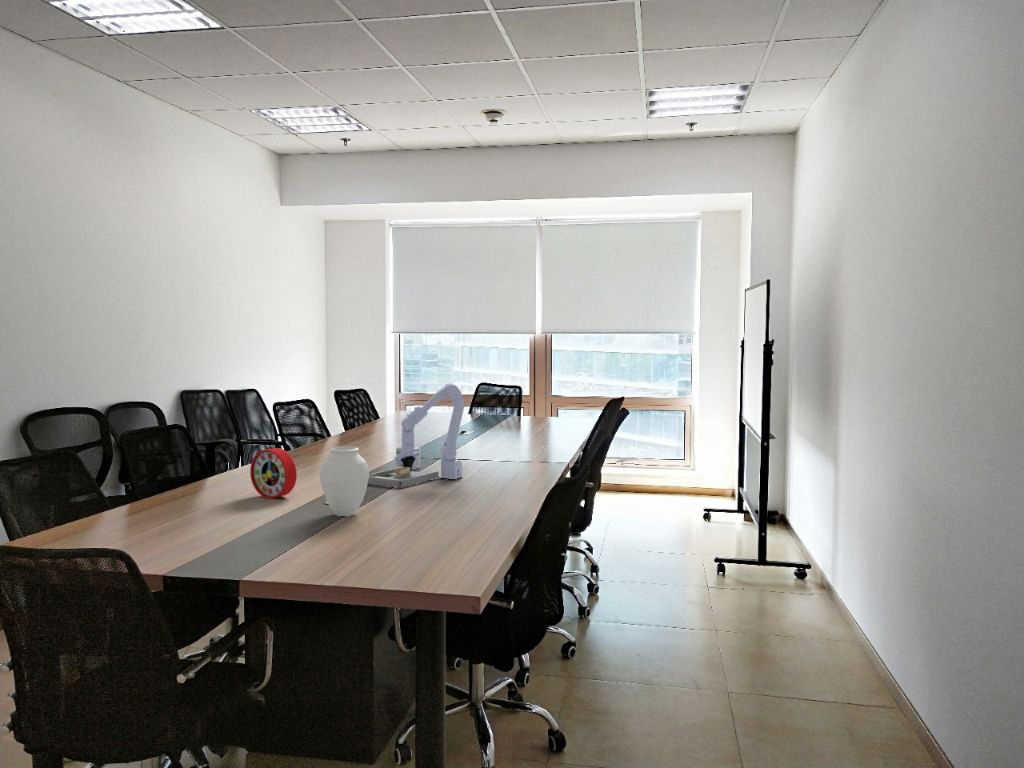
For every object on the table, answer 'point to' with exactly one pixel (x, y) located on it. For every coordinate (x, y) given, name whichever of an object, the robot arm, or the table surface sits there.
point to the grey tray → (399, 478)
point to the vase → (344, 480)
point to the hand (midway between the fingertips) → (408, 472)
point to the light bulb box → (417, 458)
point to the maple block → (402, 471)
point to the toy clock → (273, 473)
